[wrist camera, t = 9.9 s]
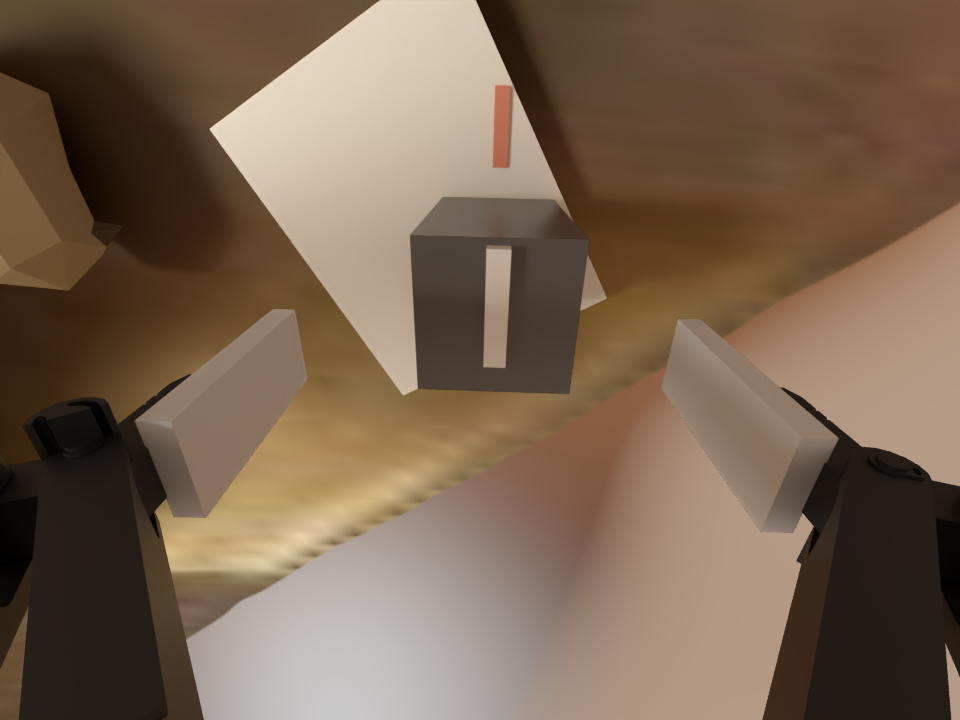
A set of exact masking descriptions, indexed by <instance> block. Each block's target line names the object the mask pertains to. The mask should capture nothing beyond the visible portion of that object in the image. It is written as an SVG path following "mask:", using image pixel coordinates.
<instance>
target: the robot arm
mask: <svg viewBox="0 0 960 720" xmlns="http://www.w3.org/2000/svg"><path fill="white" fill-rule="evenodd" d="M307 380H308V379H307V373H306V368H305V362H304V357H303V351H302V346H301V340H300V335H299V329H298V324H297V318H296V313H295V310H290V309H272V310H271V311H270V312H268V313H267V314H266V315H265V316H264V317H262V318H261V319H260V320H259V321H257V322H256V323H255V324H254V325H252V326H251V327H250V328H249V329H247V330H246V331H245V332H244V333H242V334H241V335H240V336H239V337H238V338H236V339H235V340H234V341H233V342H231V343H230V344H229V345H228V346H226V347H225V348H224V349H223V350H221V351H220V352H219V353H218V354H217V355H215V356H214V357H213V358H212V359H210V360H209V361H208V362H207V363H205V364H204V365H203V366H202V367H200V368H199V369H198V370H197V371H196V372H194V373H193V374H189V375H187V376H185V377H183V378H181V379H179V380H176V381H174V382H172V383H170V384H169V385H168V386H166V387H165V388H164V389H163V390H161V391H160V392H159V393H157V396H154V397H152V398H151V399H150V400H148V401H147V402H146V405H142V406H141V407H139V408H138V409H137V410H136V411H134V412H133V413H132V414H131V415H129V416H128V417H127V418H125V419H124V420H123V421H122V422H120V423H119V424H118V425H117V422H116V420H115V418H114V416H113V413H112V411H111V409H110V406H109V404H108V403H107V401H106V400H105V399H101V398H97V397H91V398H79V399H74V400H68V401H65V402H62V403H59V404H55V405H52V406H50V407H48V408H46V409H43V410H41V411H39V412H37V413H36V414H34V415H33V416H32V417H30V418H29V419H27V421H26V422H25V424H24V426H23V427H24V429H25V431H26V432H27V434H28V436H29V438H30V440H31V442H32V443H33V445H34V447H35V449H36V451H37V452H38V454H39V456H40V458H41V460H37V461H31V462H24V463H18V464H12V465H8V463H7V461H6V459H5V458H4V456H3V454H2V453H1V452H0V668H1V666H2V664H3V662H4V659H5V657H6V655H7V653H8V650H9V648H10V646H11V644H12V642H13V639H14V637H15V635H16V633H17V630H18V628H19V626H20V624H21V621H22V619H23V617H24V615H25V612H26V610H27V608H28V606H29V609H28V621H27V632H26V644H25V655H24V667H23V678H22V690H21V701H20V713H19V720H204V719H203V714H202V709H201V705H200V701H199V696H198V691H197V687H196V683H195V678H194V674H193V669H192V665H191V661H190V656H189V652H188V647H187V643H186V638H185V634H184V629H183V625H182V620H181V616H180V611H179V607H178V603H177V598H176V594H175V589H174V585H173V580H172V576H171V571H170V567H169V563H168V558H167V554H166V549H165V545H164V540H163V536H162V531H161V527H160V523H159V520H158V518H157V515H156V513H155V510H156V509H157V508H158V507H159V506H160V505H161V503H162V502H163V501H164V500H165V499H167V502H168V504H169V507H170V509H171V511H172V514H173V516H174V517H193V518H206V517H207V516H208V514H209V513H210V512H211V510H212V509H213V508H214V506H215V505H216V504H217V502H218V501H219V499H220V498H221V497H222V495H223V494H224V493H225V491H226V490H227V489H228V487H229V486H230V484H231V483H232V482H233V480H234V479H235V478H236V476H237V475H238V474H239V472H240V471H241V470H242V468H243V467H244V465H245V464H246V463H247V461H248V460H249V459H250V457H251V456H252V455H253V453H254V452H255V450H256V449H257V448H258V446H259V445H260V444H261V442H262V441H263V440H264V438H265V437H266V436H267V434H268V433H269V431H270V430H271V429H272V427H273V426H274V425H275V423H276V422H277V421H278V419H279V418H280V416H281V415H282V414H283V412H284V411H285V410H286V408H287V407H288V406H289V404H290V403H291V402H292V400H293V399H294V397H295V396H296V395H297V393H298V392H299V391H300V389H301V388H302V387H303V385H304V384H305V382H306V381H307ZM661 388H662V390H663V391H664V393H665V394H666V396H667V397H668V399H669V400H670V402H671V403H672V404H673V406H674V407H675V409H676V410H677V412H678V413H679V415H680V416H681V417H682V419H683V420H684V422H685V423H686V425H687V426H688V428H689V429H690V430H691V432H692V433H693V435H694V436H695V438H696V439H697V441H698V442H699V444H700V445H701V446H702V448H703V449H704V451H705V452H706V454H707V455H708V457H709V458H710V459H711V461H712V462H713V464H714V465H715V467H716V468H717V470H718V471H719V472H720V474H721V475H722V477H723V478H724V480H725V481H726V483H727V484H728V485H729V487H730V488H731V490H732V491H733V493H734V494H735V496H736V497H737V498H738V500H739V501H740V503H741V504H742V506H743V507H744V509H745V510H746V512H747V513H748V515H749V516H750V517H751V519H752V520H753V522H754V523H755V525H756V526H757V528H758V529H759V530H760V532H781V533H782V532H783V533H793V532H794V530H795V528H796V526H797V524H798V522H799V519H800V517H801V515H802V513H803V514H804V515H805V516H806V517H807V519H808V520H809V521H810V522H811V524H812V525H813V526H814V527H813V529H812V531H811V533H810V535H809V537H808V539H807V541H806V543H805V545H804V547H803V549H802V551H801V553H800V555H799V557H798V559H797V562H799V563H801V568H800V572H799V576H798V580H797V584H796V588H795V592H794V596H793V600H792V604H791V608H790V612H789V616H788V620H787V624H786V628H785V631H784V635H783V640H782V644H781V647H780V651H779V655H778V659H777V663H776V667H775V671H774V676H773V680H772V684H771V687H770V692H769V695H768V700H767V704H766V707H765V711H764V715H763V719H762V720H951V711H950V698H949V685H948V674H947V661H946V648H945V643H946V645H947V648H948V650H949V652H950V655H951V657H952V659H953V662H954V664H955V667H956V669H957V671H958V674H959V676H960V486H955V485H951V484H946V483H941V482H937V481H932V480H931V478H930V476H929V474H928V473H927V472H926V471H925V470H924V469H922V468H921V467H920V466H919V465H917V464H915V463H914V462H912V461H910V460H908V459H907V458H905V457H902V456H899V455H897V454H895V453H892V452H889V451H885V450H882V449H877V448H870V447H861V446H860V445H859V444H858V443H856V442H855V441H854V440H853V439H852V438H850V437H849V436H848V435H847V434H846V433H844V432H843V431H842V430H841V429H839V428H838V427H837V426H836V425H835V424H833V423H832V422H831V421H830V420H827V418H826V417H825V416H824V415H823V414H822V413H820V412H819V411H816V409H815V408H814V407H813V406H812V405H811V404H809V403H808V402H807V401H806V400H805V399H803V398H802V397H800V396H798V395H796V394H794V393H793V392H791V391H789V390H787V389H785V388H780V387H779V386H777V385H776V384H775V383H774V382H773V381H772V380H770V379H769V378H768V377H767V376H766V375H765V374H763V373H762V372H761V371H760V370H759V369H758V368H756V367H755V366H754V365H753V364H752V363H751V362H749V361H748V360H747V359H746V358H745V357H744V356H742V355H741V354H740V353H739V352H738V351H736V349H734V348H733V347H732V346H731V345H730V344H728V343H727V342H726V341H725V340H724V339H723V338H722V337H720V336H719V335H718V334H717V333H716V332H715V331H713V330H712V329H711V328H710V327H709V326H708V325H706V324H705V323H704V322H703V321H702V320H701V319H678V321H677V325H676V329H675V333H674V337H673V341H672V346H671V350H670V354H669V358H668V362H667V366H666V371H665V375H664V379H663V383H662V387H661Z"/></svg>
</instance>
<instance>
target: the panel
mask: <svg viewBox="0 0 960 720" xmlns="http://www.w3.org/2000/svg"><path fill="white" fill-rule="evenodd" d="M210 131H211V132H212V133H213V135H214V136H215V137H216V139H217V140H218V142H219V143H220V144H221V146H222V147H223V148H224V150H225V151H226V153H227V154H228V155H229V157H230V158H231V159H232V161H233V162H234V164H235V165H236V166H237V168H238V169H239V170H240V172H241V173H242V175H243V176H244V177H245V179H246V180H247V181H248V183H249V184H250V186H251V187H252V188H253V190H254V191H255V192H256V194H257V195H258V197H259V198H260V199H261V201H262V202H263V203H264V205H265V206H266V208H267V209H268V210H269V212H270V213H271V214H272V216H273V217H274V219H275V220H276V221H277V223H278V224H279V225H280V227H281V228H282V230H283V231H284V232H285V234H286V235H287V236H288V238H289V239H290V241H291V242H292V243H293V245H294V246H295V247H296V249H297V250H298V252H299V253H300V254H301V256H302V257H303V258H304V260H305V261H306V263H307V264H308V265H309V267H310V268H311V269H312V271H313V272H314V274H315V275H316V276H317V278H318V279H319V280H320V282H321V283H322V285H323V286H324V287H325V289H326V290H327V291H328V293H329V294H330V296H331V297H332V298H333V300H334V301H335V302H336V304H337V305H338V307H339V308H340V309H341V311H342V312H343V313H344V315H345V316H346V318H347V319H348V320H349V322H350V323H351V324H352V326H353V327H354V329H355V330H356V331H357V333H358V334H359V335H360V337H361V338H362V340H363V341H364V342H365V344H366V345H367V346H368V348H369V349H370V351H371V352H372V353H373V355H374V356H375V357H376V359H377V360H378V362H379V363H380V364H381V366H382V367H383V368H384V370H385V371H386V373H387V374H388V375H389V377H390V378H391V379H392V381H393V382H394V384H395V385H396V386H397V388H398V389H399V390H400V392H401V393H402V395H405V394H408V393H410V392H412V391H414V390H416V389H418V385H417V365H416V346H415V327H414V308H413V289H412V269H411V250H410V234H411V233H412V232H413V231H414V229H415V228H416V227H417V226H418V225H419V224H420V223H421V221H422V220H423V219H424V218H425V217H426V216H427V214H428V213H429V212H430V211H431V210H432V209H433V208H434V206H435V205H436V204H437V203H438V202H439V201H440V199H441V198H442V197H470V198H509V199H548V200H555V201H556V202H557V204H558V205H559V206H560V207H561V208H562V209H563V210H564V212H565V213H566V214H567V215H568V216H569V217H570V218H571V219H572V217H571V215H570V213H569V211H568V208H567V206H566V204H565V202H564V199H563V197H562V195H561V193H560V190H559V188H558V186H557V183H556V181H555V179H554V177H553V174H552V172H551V170H550V168H549V165H548V163H547V161H546V159H545V156H544V154H543V152H542V149H541V147H540V145H539V143H538V140H537V138H536V136H535V134H534V131H533V129H532V127H531V125H530V122H529V120H528V118H527V115H526V113H525V111H524V109H523V106H522V104H521V102H520V100H519V97H518V95H517V93H516V91H515V88H514V86H513V84H512V81H511V79H510V77H509V75H508V72H507V70H506V68H505V66H504V63H503V61H502V59H501V57H500V54H499V52H498V50H497V47H496V45H495V43H494V41H493V38H492V36H491V34H490V32H489V29H488V27H487V25H486V23H485V20H484V18H483V16H482V13H481V11H480V9H479V7H478V4H477V2H476V0H380V1H379V2H377V3H376V4H375V5H373V6H372V7H371V8H369V9H368V10H367V11H365V12H364V13H363V14H361V15H360V16H359V17H357V18H356V19H355V20H353V21H352V22H351V23H349V24H348V25H347V26H346V27H344V28H343V29H342V30H340V31H339V32H338V33H336V34H335V35H334V36H332V37H331V38H330V39H328V40H327V41H326V42H324V43H323V44H322V45H320V46H319V47H318V48H316V49H315V50H314V51H312V52H311V53H310V54H308V55H307V56H306V57H304V58H303V59H302V60H300V61H299V62H298V63H296V64H295V65H294V66H292V67H291V68H290V69H288V70H287V71H286V72H284V73H283V74H282V75H280V76H279V77H278V78H277V79H275V80H274V81H273V82H271V83H270V84H269V85H267V86H266V87H265V88H263V89H262V90H261V91H259V92H258V93H257V94H255V95H254V96H253V97H251V98H250V99H249V100H247V101H246V102H245V103H243V104H242V105H241V106H239V107H238V108H237V109H235V110H234V111H233V112H231V113H230V114H229V115H227V116H226V117H225V118H223V119H222V120H221V121H219V122H218V123H217V124H215V125H214V126H213V127H212V128H210ZM572 221H573V220H572ZM605 299H607V297H606V295H605V292H604V290H603V288H602V286H601V283H600V281H599V279H598V276H597V274H596V272H595V270H594V267H593V265H592V263H591V261H590V258H589V256H588V255H587V263H586V270H585V278H584V286H583V293H582V301H581V308H580V311H582V310H584V309H586V308H588V307H590V306H592V305H595V304H597V303H599V302H601V301H603V300H605Z"/></svg>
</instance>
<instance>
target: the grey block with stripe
mask: <svg viewBox="0 0 960 720" xmlns="http://www.w3.org/2000/svg"><path fill="white" fill-rule="evenodd" d="M588 248H589V239H588V238H587V236H586V235H585V234H584V233H583V232H582V231H581V230H580V229H579V227H578V226H577V225H576V224H575V223H574V222H573V221H572V219H571V218H570V217H569V216H568V215H567V214H566V213H565V212H564V210H563V209H562V208H561V207H560V206H559V205H558V204H557V202H556V201H555V200H548V199H509V198H470V197H442V198H441V199H440V201H439V202H438V203H437V204H436V205H435V206H434V208H433V209H432V210H431V211H430V212H429V213H428V214H427V216H426V217H425V218H424V219H423V220H422V221H421V223H420V224H419V225H418V226H417V227H416V228H415V229H414V231H413V232H412V233H411V234H410V250H411V269H412V289H413V308H414V327H415V346H416V365H417V385H418V389H437V390H465V391H494V392H523V393H552V394H569V392H570V384H571V377H572V369H573V361H574V354H575V346H576V339H577V331H578V323H579V316H580V308H581V301H582V293H583V286H584V278H585V270H586V263H587V255H588Z"/></svg>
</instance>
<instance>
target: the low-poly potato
mask: <svg viewBox="0 0 960 720" xmlns="http://www.w3.org/2000/svg"><path fill="white" fill-rule="evenodd" d="M122 227H123V226H120V225H115V224H109V223H103V222H97V221H94V219H93V217H92V215H91V213H90V210H89V208H88V206H87V204H86V202H85V200H84V198H83V196H82V194H81V192H80V190H79V187H78V185H77V183H76V181H75V179H74V177H73V175H72V173H71V171H70V168H69V164H68V160H67V157H66V153H65V150H64V146H63V143H62V139H61V135H60V132H59V128H58V125H57V121H56V118H55V114H54V110H53V107H52V103H51V100H50V96H49V93H46V92H44V91H42V90H39V89H37V88H35V87H33V86H30V85H28V84H26V83H23V82H21V81H19V80H17V79H14V78H12V77H10V76H7V75H5V74H3V73H1V72H0V284H8V285H19V286H29V287H39V288H49V289H59V290H70V289H71V288H72V287H73V286H74V285H75V284H76V283H77V281H78V280H79V279H80V278H81V277H82V276H83V275H84V274H85V273H86V272H87V271H88V270H89V269H90V268H91V267H92V266H93V265H94V264H95V263H96V262H97V261H98V260H99V259H100V258H101V256H102V255H103V254H104V253H105V250H106V248H107V246H108V245H109V243H110V242H111V241H112V240H113V238H114V237H115V236H116V235H117V233H118V232H119V231H120V230H121V228H122Z"/></svg>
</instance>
